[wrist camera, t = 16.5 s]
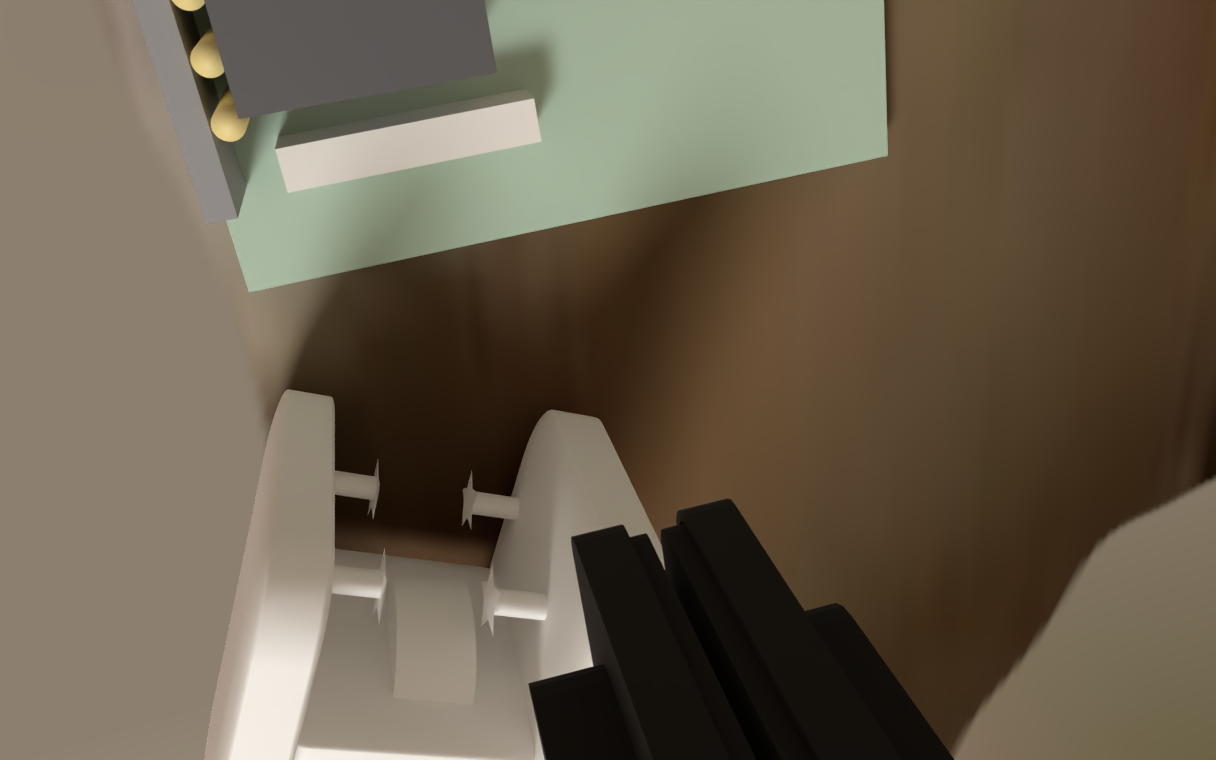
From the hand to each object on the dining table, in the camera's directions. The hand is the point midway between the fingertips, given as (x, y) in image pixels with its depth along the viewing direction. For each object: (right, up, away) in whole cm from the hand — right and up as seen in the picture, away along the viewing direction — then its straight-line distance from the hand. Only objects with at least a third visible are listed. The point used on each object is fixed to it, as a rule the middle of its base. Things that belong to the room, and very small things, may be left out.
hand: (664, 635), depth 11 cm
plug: (-7, +13, +17) cm, 23 cm away
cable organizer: (-8, -4, +27) cm, 28 cm away
